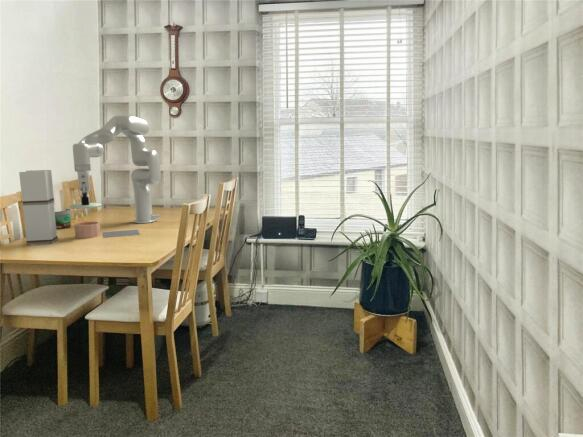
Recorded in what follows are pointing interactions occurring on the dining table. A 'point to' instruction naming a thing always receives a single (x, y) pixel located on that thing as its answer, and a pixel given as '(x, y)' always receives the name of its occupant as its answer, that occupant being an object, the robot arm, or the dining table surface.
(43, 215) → the grey two-tier tower
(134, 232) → the mat
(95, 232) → the bowl
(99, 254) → the dining table surface
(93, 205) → the lid
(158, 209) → the dining table surface
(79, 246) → the dining table surface
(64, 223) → the food container
